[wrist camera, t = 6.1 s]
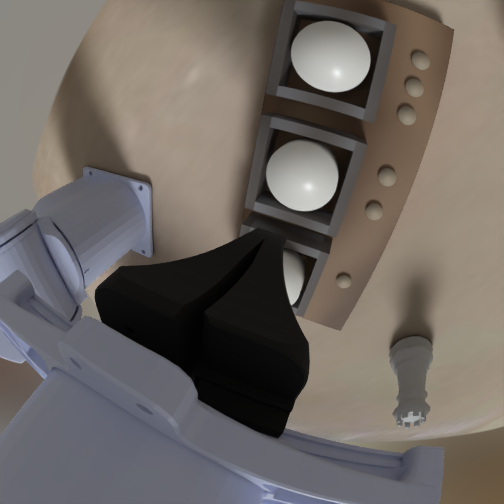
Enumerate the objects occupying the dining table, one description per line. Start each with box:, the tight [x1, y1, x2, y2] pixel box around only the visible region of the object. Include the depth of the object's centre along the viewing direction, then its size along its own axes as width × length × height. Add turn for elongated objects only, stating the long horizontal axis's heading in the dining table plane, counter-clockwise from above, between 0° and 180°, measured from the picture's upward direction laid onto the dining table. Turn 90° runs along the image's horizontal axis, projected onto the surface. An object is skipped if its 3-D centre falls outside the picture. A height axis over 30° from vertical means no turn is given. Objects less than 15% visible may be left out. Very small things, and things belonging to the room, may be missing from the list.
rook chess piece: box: [389, 336, 433, 428], centre depth 20 cm, size 4×4×8 cm
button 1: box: [283, 248, 306, 305], centre depth 19 cm, size 4×4×2 cm
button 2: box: [291, 21, 370, 93], centre depth 12 cm, size 4×4×2 cm
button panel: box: [239, 0, 454, 331], centre depth 16 cm, size 10×24×4 cm, turn 170°
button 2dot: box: [266, 137, 340, 211], centre depth 16 cm, size 4×4×2 cm
